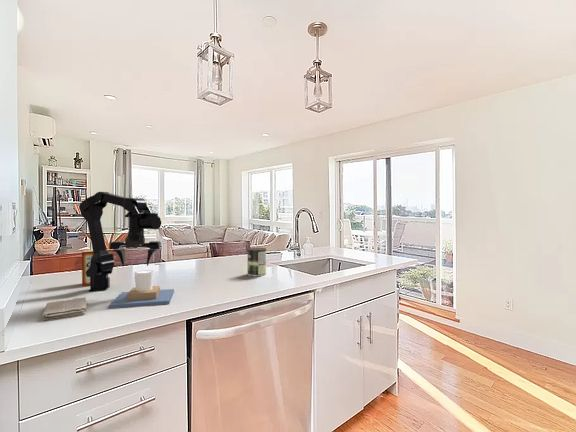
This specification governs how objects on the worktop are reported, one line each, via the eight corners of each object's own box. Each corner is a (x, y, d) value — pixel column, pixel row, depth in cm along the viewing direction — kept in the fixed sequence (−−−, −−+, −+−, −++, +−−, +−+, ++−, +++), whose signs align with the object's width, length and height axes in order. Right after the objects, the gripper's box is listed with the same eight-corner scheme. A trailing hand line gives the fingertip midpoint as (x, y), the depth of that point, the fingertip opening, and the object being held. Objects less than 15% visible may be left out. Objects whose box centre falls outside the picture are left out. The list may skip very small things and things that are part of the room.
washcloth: (41, 323, 95) (41, 313, 95) (45, 308, 110) (45, 300, 110) (87, 316, 102) (87, 306, 102) (85, 303, 117) (85, 294, 117)
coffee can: (248, 276, 161) (248, 250, 161) (246, 273, 171) (246, 247, 171) (267, 275, 164) (267, 249, 164) (264, 272, 174) (264, 247, 174)
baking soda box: (82, 286, 141) (81, 251, 141) (82, 283, 147) (82, 249, 146) (106, 283, 146) (106, 249, 146) (105, 281, 152) (105, 248, 152)
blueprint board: (108, 308, 109) (108, 297, 109) (122, 295, 126) (121, 286, 126) (169, 303, 114) (169, 293, 114) (174, 291, 131) (173, 283, 131)
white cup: (134, 292, 115) (134, 274, 115) (134, 288, 121) (134, 271, 121) (154, 290, 118) (154, 272, 118) (153, 286, 125) (153, 269, 124)
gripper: (105, 229, 119) (104, 269, 119) (157, 230, 123) (156, 269, 124) (113, 227, 130) (113, 264, 130) (161, 228, 134) (160, 264, 134)
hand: (135, 265), depth 129 cm, fingers open, 9 cm apart
